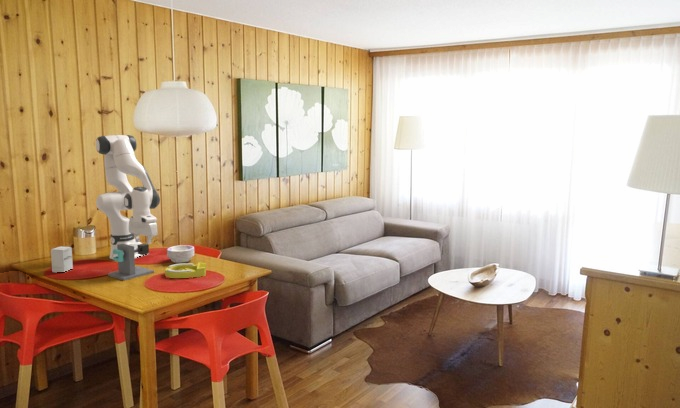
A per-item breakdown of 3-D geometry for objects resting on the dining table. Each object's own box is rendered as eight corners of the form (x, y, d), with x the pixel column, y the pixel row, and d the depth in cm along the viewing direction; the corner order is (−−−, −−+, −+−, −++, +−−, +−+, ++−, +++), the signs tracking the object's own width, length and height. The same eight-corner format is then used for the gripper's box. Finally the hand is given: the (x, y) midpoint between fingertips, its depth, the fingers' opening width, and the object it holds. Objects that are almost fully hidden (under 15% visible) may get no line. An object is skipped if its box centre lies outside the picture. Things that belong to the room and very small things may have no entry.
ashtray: (205, 278, 279) (204, 269, 278) (163, 280, 275) (163, 271, 274) (206, 269, 295) (206, 261, 294) (167, 271, 291) (166, 262, 290)
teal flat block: (117, 259, 279) (116, 249, 278) (123, 261, 276) (123, 250, 275) (113, 260, 277) (112, 249, 276) (120, 262, 274) (119, 251, 273)
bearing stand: (137, 268, 295) (136, 239, 292) (153, 272, 287) (152, 243, 284) (107, 275, 280) (106, 246, 277) (124, 280, 272) (122, 250, 270)
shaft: (144, 252, 291) (143, 243, 290) (148, 253, 289) (148, 244, 288) (110, 260, 275) (110, 250, 274) (115, 261, 273) (115, 251, 272)
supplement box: (64, 273, 283) (62, 250, 281) (51, 272, 284) (50, 249, 282) (73, 269, 290) (72, 246, 288) (61, 268, 292) (60, 245, 290)
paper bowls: (162, 260, 311) (162, 247, 310) (187, 256, 321) (187, 243, 320) (174, 266, 300) (173, 252, 299) (199, 261, 310) (198, 248, 309)
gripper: (124, 216, 288) (126, 241, 290) (148, 220, 277) (150, 246, 279) (135, 214, 294) (136, 239, 296) (159, 218, 282) (160, 244, 284)
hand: (143, 242), depth 287 cm, fingers open, 8 cm apart
